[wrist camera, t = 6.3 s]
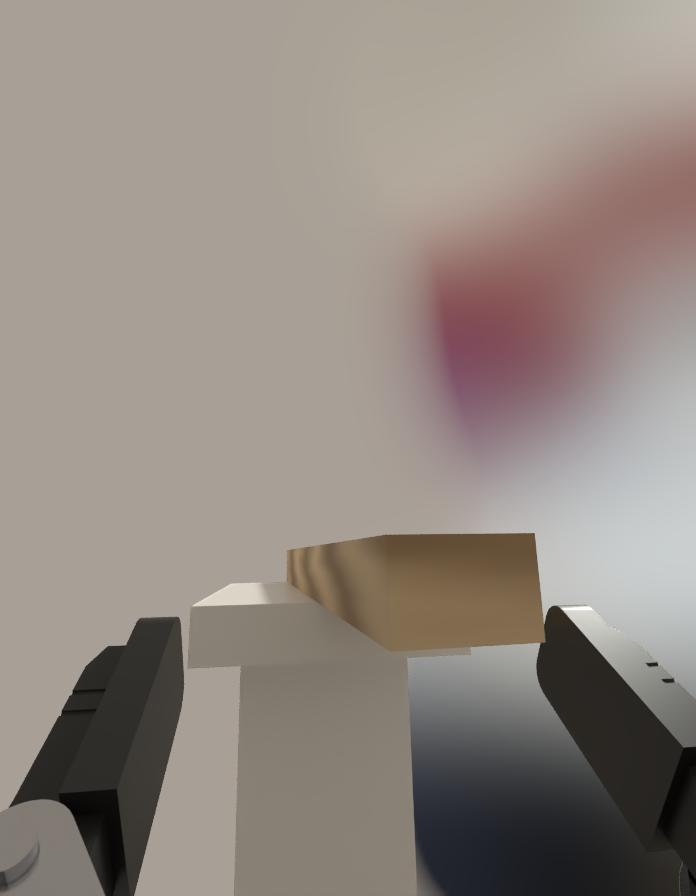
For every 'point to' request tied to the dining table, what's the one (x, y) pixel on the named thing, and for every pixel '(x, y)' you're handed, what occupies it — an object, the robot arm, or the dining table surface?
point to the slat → (428, 588)
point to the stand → (314, 745)
